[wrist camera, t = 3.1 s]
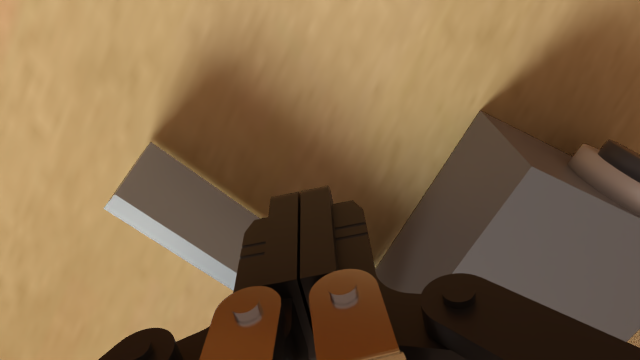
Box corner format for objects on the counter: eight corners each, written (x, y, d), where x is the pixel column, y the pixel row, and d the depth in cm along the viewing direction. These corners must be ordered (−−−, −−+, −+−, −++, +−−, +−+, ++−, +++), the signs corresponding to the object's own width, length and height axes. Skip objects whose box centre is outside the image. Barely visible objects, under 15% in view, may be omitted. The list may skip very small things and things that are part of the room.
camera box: (490, 346, 30) (539, 456, 24) (357, 296, 28) (373, 402, 22) (652, 156, 25) (768, 235, 19) (501, 77, 23) (575, 136, 17)
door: (358, 287, 27) (368, 358, 23) (340, 303, 28) (347, 375, 23) (150, 141, 23) (114, 194, 19) (134, 163, 24) (95, 219, 19)
